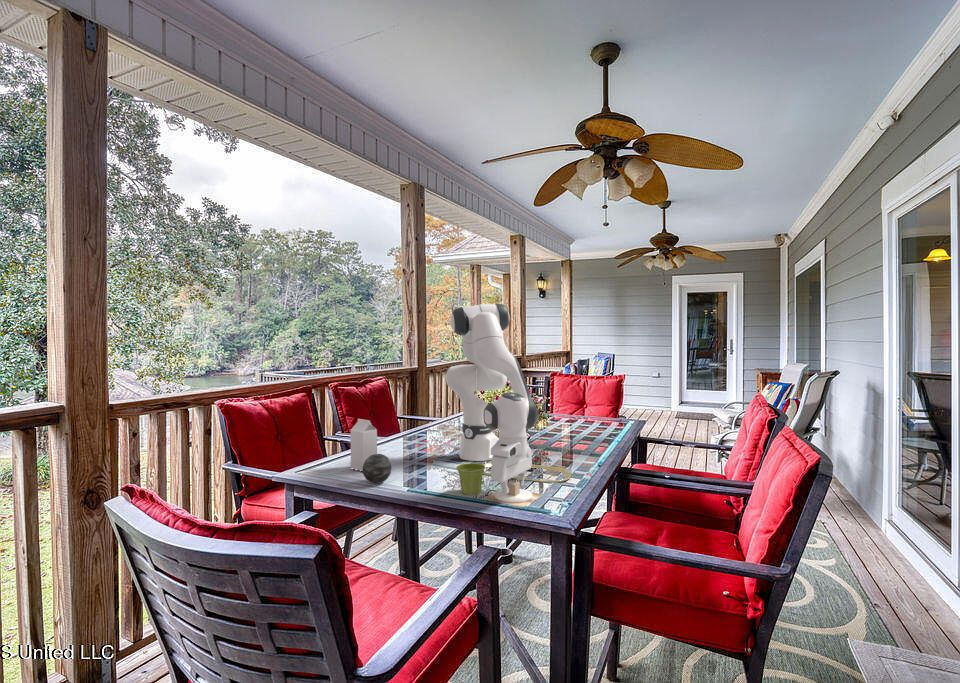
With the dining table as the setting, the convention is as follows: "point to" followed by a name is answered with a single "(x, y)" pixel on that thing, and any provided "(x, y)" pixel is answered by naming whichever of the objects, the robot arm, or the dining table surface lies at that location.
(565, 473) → the oval gold ring
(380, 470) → the decorative stone
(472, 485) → the plant pot
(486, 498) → the mat
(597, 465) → the dining table surface
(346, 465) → the dining table surface
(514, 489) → the lid
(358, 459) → the milk carton
